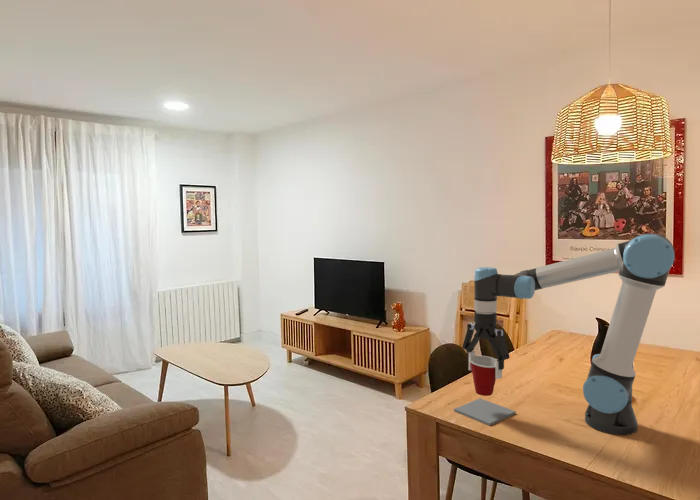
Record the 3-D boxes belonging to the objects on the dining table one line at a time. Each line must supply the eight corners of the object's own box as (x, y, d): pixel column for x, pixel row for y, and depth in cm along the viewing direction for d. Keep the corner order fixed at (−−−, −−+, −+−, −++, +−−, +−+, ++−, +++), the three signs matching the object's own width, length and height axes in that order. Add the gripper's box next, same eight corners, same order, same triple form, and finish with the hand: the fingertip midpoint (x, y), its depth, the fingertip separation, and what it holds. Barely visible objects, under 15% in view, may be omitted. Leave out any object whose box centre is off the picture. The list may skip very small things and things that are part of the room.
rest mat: (515, 413, 162) (515, 411, 162) (489, 425, 153) (489, 423, 153) (480, 400, 174) (480, 398, 174) (453, 411, 165) (453, 408, 165)
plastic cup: (492, 401, 155) (493, 366, 154) (463, 394, 162) (463, 360, 162) (505, 392, 164) (506, 358, 163) (477, 385, 171) (477, 353, 170)
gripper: (521, 315, 154) (520, 380, 156) (465, 305, 172) (465, 363, 174) (508, 319, 149) (507, 385, 151) (452, 308, 168) (452, 367, 169)
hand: (484, 373), depth 163 cm, fingers closed on plastic cup, 11 cm apart
